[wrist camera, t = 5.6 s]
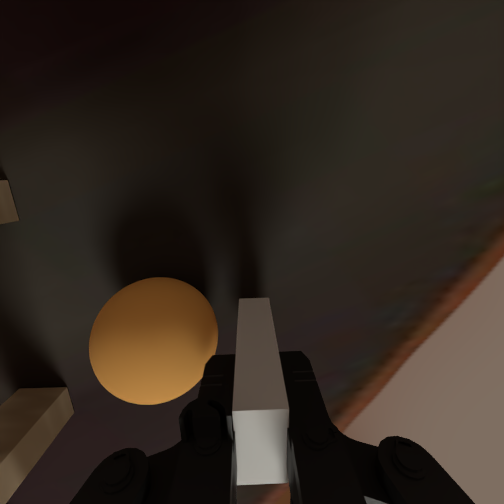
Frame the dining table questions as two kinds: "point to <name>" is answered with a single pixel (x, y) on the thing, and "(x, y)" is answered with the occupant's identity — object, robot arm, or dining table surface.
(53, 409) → the bridge
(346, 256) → the dining table surface
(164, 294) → the ball
